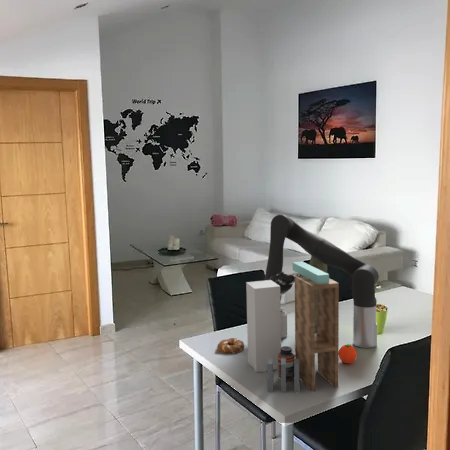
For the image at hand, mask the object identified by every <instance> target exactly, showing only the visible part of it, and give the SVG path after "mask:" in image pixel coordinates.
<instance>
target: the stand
mask: <svg viewBox="0 0 450 450" xmlns="http://www.w3.org/2000/svg"><path fill="white" fill-rule="evenodd" d="M294 277H295V282H294V332H295V333H294V335H295V337H294V339H295V341H294V342H295V343H294V345H295V347H294V348H295V349H294V350H295V351H294V357H295V359H299V381H301V382H302V383H303V384H304V385H305V386H306V387H307V388H308V390H310V391H311V392H315V391H316V365H315V364H316V358H315V357H316V356H315V355H316V354H317V372H318V373H319V374H320V375H321V377H322V378H324V379H325V380H326V381H328V383H329V384H330V385H332V386H333V387H334V388H339V354H338V353H339V349H340V347H339V345H340V344H339V340H340V339H339V336H340V335H339V332H340V331H339V330H340V329H339V323H340V322H339V320H340V319H339V318H340V317H339V316H340V315H339V310H340V309H339V308H340V307H339V306H340V303H339V300H340V299H339V298H340V296H339V294H340V292H339V290H340V289H339V287H340V286H339V284H340V283H339V282H337V281H335V280H334V279H331V278H330V277H329V283H325V284H317V283H315V282H313V281H311V280H310V279H308V278H306V277H304V276H295V275H294ZM315 290H317V333H315Z"/></svg>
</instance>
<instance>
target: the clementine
mask: <svg viewBox="0 0 450 450" xmlns="http://www.w3.org/2000/svg"><path fill="white" fill-rule="evenodd" d="M357 357H358V352H357V349H356V348H355V347H354V346H352V344H350V343H347V344H344V345H341V346H340V347H339V349H338V359H339V360H340V361H342V362H343V363H345V364H351V363H354V362H355V361H356V359H357Z"/></svg>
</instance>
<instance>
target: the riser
mask: <svg viewBox="0 0 450 450" xmlns="http://www.w3.org/2000/svg"><path fill="white" fill-rule="evenodd" d="M245 284H246V285H245V286H246V287H245V288H246V289H245V290H246V322H247V325H246V329H247V332H246V333H247V362H248V364H249V365H250V367H252V369H253V370H254V371H255V372H256V373H261V372H268V358H273V371H274V370H278V354H279V353H280V352H281V347H282V338H281V309H282V307H281V301H280V286H279V285H278V284H276V283H275V282H273V281H272V280H265V279H264V280H255V281H246V282H245Z"/></svg>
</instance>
